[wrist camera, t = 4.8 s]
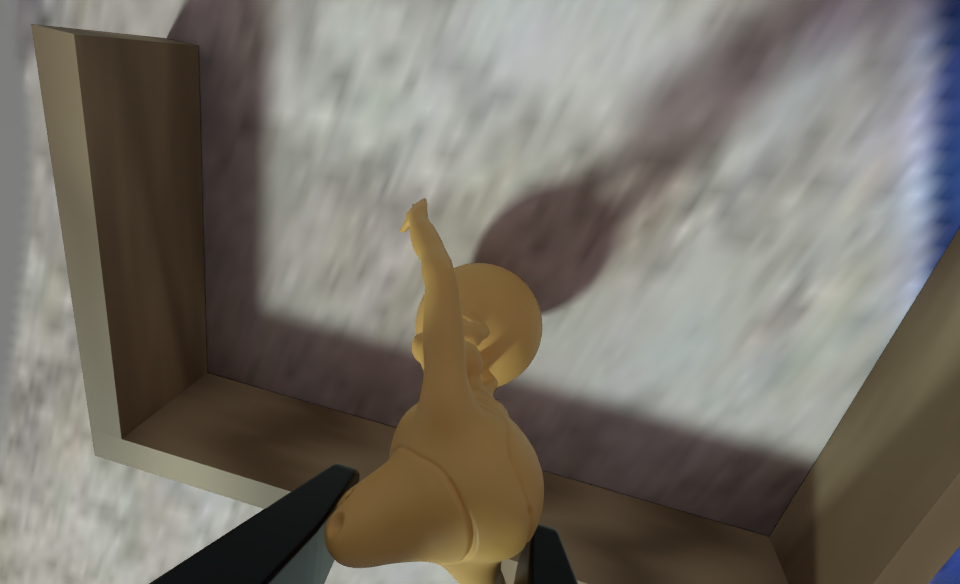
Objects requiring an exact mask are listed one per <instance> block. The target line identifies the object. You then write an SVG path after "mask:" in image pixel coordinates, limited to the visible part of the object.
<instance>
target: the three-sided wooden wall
mask: <svg viewBox="0 0 960 584" xmlns="http://www.w3.org/2000/svg"><path fill="white" fill-rule="evenodd" d="M31 26H32V33H33V40H34V46H35V53H36V60H37V67H38V74H39V80H40V87H41V94H42V101H43V107H44V114H45V121H46V128H47V135H48V141H49V148H50V155H51V162H52V168H53V175H54V182H55V189H56V196H57V202H58V209H59V216H60V223H61V229H62V236H63V243H64V250H65V257H66V263H67V270H68V277H69V284H70V290H71V297H72V304H73V311H74V318H75V324H76V331H77V338H78V345H79V351H80V358H81V365H82V372H83V379H84V385H85V392H86V399H87V406H88V412H89V419H90V426H91V433H92V440H93V446H94V453H95V456H98V457H101V458H104V459H108V460H111V461H114V462H117V463H120V464H124V465H127V466H130V467H133V468H136V469H139V470H143V471H146V472H149V473H152V474H155V475H159V476H162V477H165V478H168V479H171V480H174V481H178V482H181V483H184V484H187V485H190V486H193V487H197V488H200V489H203V490H206V491H209V492H213V493H216V494H219V495H222V496H225V497H228V498H232V499H235V500H238V501H241V502H244V503H248V504H251V505H254V506H257V507H260V508H263V509H265V508H267V507H268V506H270V505H271V504H273V503H275V502H276V501H278V500H279V499H281V498H282V497H284V496H285V495H287V494H288V493H290V492H291V491H293V490H295V489H296V488H298V487H299V486H301V485H302V484H304V483H305V482H307V481H308V480H310V479H312V478H313V477H315V476H316V475H318V474H319V473H321V472H322V471H324V470H325V469H327V468H329V467H330V466H332V465H334V464H342V465H346V466H349V467H352V468H356V469H357V470H358V471H359V474H360V478H359V482H360V481H362V480H363V479H364V478H366V477H367V476H369V475H370V474H371V473H373V472H374V471H375V470H377V469H378V468H379V467H381V466H382V465H383V464H385V463H386V462H387V461H388V460H389V457H390V455H389V453H390V449H391V443H392V439H393V436H394V433H395V430H396V428H394V427H391V426H387V425H384V424H381V423H377V422H374V421H370V420H367V419H363V418H360V417H357V416H353V415H350V414H346V413H343V412H339V411H336V410H333V409H329V408H326V407H322V406H319V405H316V404H312V403H309V402H305V401H302V400H298V399H295V398H292V397H288V396H285V395H281V394H278V393H274V392H271V391H268V390H264V389H261V388H257V387H254V386H250V385H247V384H244V383H240V382H237V381H233V380H230V379H226V378H223V377H220V376H216V375H213V374H209V373H207V350H206V312H205V275H204V238H203V201H202V164H201V126H200V89H199V52H198V46H197V45H192V44H188V43H184V42H179V41H175V40H171V39H166V38H158V37H148V36H139V35H130V34H120V33H111V32H101V31H92V30H82V29H73V28H63V27H54V26H44V25H35V24H31ZM542 473H543V480H544V501H543V509H542V514H541V518H540V521H539V524H542V525H545V526H548V527H552V528H554V529H556V530H557V532H558V533H559V536H560V538H561V541H562V543H563V546H564V549H565V551H566V554H567V556H568V559H569V562H570V564H571V567H572V569H573V572H574V575H575V577H576V580H577V582H578V584H928V583H929V582H930V581H931V580H932V578H933V577H934V576H935V575H936V574H937V572H938V571H939V570H940V569H941V568H942V566H943V565H944V564H945V563H946V562H947V561H948V559H949V558H950V557H951V556H952V555H953V553H954V552H955V551H956V550H957V549H958V548H959V546H960V228H959V230H958V231H957V233H956V235H955V236H954V238H953V239H952V241H951V243H950V244H949V246H948V248H947V249H946V251H945V252H944V254H943V256H942V257H941V259H940V261H939V262H938V264H937V265H936V267H935V269H934V270H933V272H932V273H931V275H930V277H929V278H928V280H927V282H926V283H925V285H924V286H923V288H922V290H921V291H920V293H919V295H918V296H917V298H916V299H915V301H914V303H913V304H912V306H911V308H910V309H909V311H908V312H907V314H906V316H905V317H904V319H903V321H902V322H901V324H900V325H899V327H898V329H897V330H896V332H895V334H894V335H893V337H892V338H891V340H890V342H889V343H888V345H887V347H886V348H885V350H884V351H883V353H882V355H881V356H880V358H879V360H878V361H877V363H876V364H875V366H874V368H873V369H872V371H871V372H870V374H869V376H868V377H867V379H866V381H865V382H864V384H863V385H862V387H861V389H860V390H859V392H858V394H857V395H856V397H855V398H854V400H853V402H852V403H851V405H850V407H849V408H848V410H847V411H846V413H845V415H844V416H843V418H842V420H841V421H840V423H839V424H838V426H837V428H836V429H835V431H834V433H833V434H832V436H831V437H830V439H829V441H828V442H827V444H826V446H825V447H824V449H823V450H822V452H821V454H820V455H819V457H818V459H817V460H816V462H815V463H814V465H813V467H812V468H811V470H810V472H809V473H808V475H807V476H806V478H805V480H804V481H803V483H802V484H801V486H800V488H799V489H798V491H797V493H796V494H795V496H794V497H793V499H792V501H791V502H790V504H789V506H788V507H787V509H786V510H785V512H784V514H783V515H782V517H781V519H780V520H779V522H778V523H777V525H776V527H775V528H774V530H773V532H772V533H771V535H770V536H769V537H768V536H764V535H761V534H757V533H754V532H750V531H747V530H744V529H740V528H737V527H733V526H730V525H726V524H723V523H720V522H716V521H713V520H709V519H706V518H702V517H699V516H696V515H692V514H689V513H685V512H682V511H679V510H675V509H672V508H668V507H665V506H661V505H658V504H655V503H651V502H648V501H644V500H641V499H637V498H634V497H631V496H627V495H624V494H620V493H617V492H613V491H610V490H607V489H603V488H600V487H596V486H593V485H589V484H586V483H583V482H579V481H576V480H572V479H569V478H565V477H562V476H559V475H555V474H552V473H548V472H545V471H542ZM520 554H521V552H519V553H518V554H517V555H515V556H514V557H512V558H509V559H507V560H504V561H502V562H501V571H502V573H503V576H504V579H505V582H506V584H514V580H515V574H516V569H517V564H518V560H519V557H520Z"/></svg>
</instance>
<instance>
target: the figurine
mask: <svg viewBox="0 0 960 584" xmlns="http://www.w3.org/2000/svg"><path fill="white" fill-rule="evenodd" d="M426 201H427V200H426V199H425V198H424V199H422V200H420V201H419V202H417V203H416V204H413V205H412V208H411V209H410V210H409V211H408V213H407V214H406V215H405V222H404V224H403V226H402V228H401V229H400V232H405V231H407V230H408V229H409V228H410V237H411V242H412V245H413V248H414V250H415V252H416V254H417V256H418V257H419V259H420V261H421V270H422V277H423V281H424V285H425V294H424V296H423V298H422V300H421V302H420V305H419V308H418V312H417V317H416V336H415V337H414V339H413V342H412V353H413V355H414V357H415V359H416V360H417V361H418V362H419V363H420V364H421V366H422V368H423V371H424V375H423V382H422V388H421V393H420V398H419V402H418V403H417V404H415V405H414V406H412V407H411V408H410V409H409V410H408V411H407V412H406V413H405V414H404V416H403V417H402V419H401V420H400V422H399V424H398V426H397V428H396V430H395V433H394V436H393V439H392V443H391V449H390V453H389V455H390V457H389V460H388V461H387V462H386V463H385V464H383V465H382V466H381V467H379V468H378V469H377V470H375V471H374V472H373V473H371V474H370V475H369V476H367V477H366V478H364V479H363V480H362V481H360V482H359V483H357V484H356V485H355V486H353V487H352V488H350V489H349V490H348V491H347V492H346V493H345V494H344V495H343V497H342V498H341V499H340V501H339V502H338V504H337V509H336V510H335V511H334V513H333V514H332V515H331V516H330V518H329V519H328V521H327V523H326V526H325V530H324V538H325V543H326V547H327V549H328V551H329V553H330V555H331V556H332V557H333V558H334V559H335V560H336V561H337V562H338V563H340V564H342V565H344V566H347V567H352V568H367V567H375V566H380V565H386V564H393V563H401V562H416V561H423V562H431V563H436V564H438V565H441V566H442V567H444V568H445V569H446V570H447V571H448V572H449V573H450V574H451V575H452V576H453V577H454V578H455V579H456V580H457V581H458V582H459V583H460V584H506V582H505V579H504V576H503V573H502V571H501V562H502V561H504V560H507V559H509V558H512V557H514V556H515V555H517V554H518V553H519V552H521V551H522V550H523V549H524V547H525V545H526V543H527V542H529V541H530V540H531V538H532V536H533V535H534V533H535V531H536V529H537V526H538V524H539V521H540V518H541V514H542V509H543V501H544V480H543V473H542V469H541V466H540V463H539V460H538V457H537V454H536V452H535V450H534V448H533V446H532V445H531V443H530V441H529V440H528V439H527V437H526V436H525V434H524V433H523V432H522V430H521V429H520V428H519V427H518V426H517V425H516V423H515V422H514V421H513V420H511V419H510V418H509V414H508V411H507V410H506V408H505V407H504V406H503V405H502V404H501V403H499V402H498V401H497V400H495V399H494V391H495V390H496V389H497V387H499V386H502V385H504V384H507V383H509V382H510V381H512V380H514V379H515V378H516V377H518V376H519V375H520V374H521V373H522V372H523V371H524V370H525V369H526V368H527V367H528V366H529V365H530V363H531V362H532V360H533V359H534V357H535V355H536V353H537V351H538V348H539V345H540V341H541V336H542V317H541V312H540V308H539V305H538V302H537V300H536V298H535V296H534V294H533V293H532V291H531V290H530V288H529V287H528V286H527V285H526V283H525V282H524V281H523V280H522V279H520V278H519V277H518V276H517V275H515V274H514V273H512V272H511V271H509V270H507V269H505V268H502V267H500V266H497V265H493V264H487V263H471V264H465V265H462V266H458V267H456V268H453V265H452V261H451V259H450V257H449V255H448V253H447V251H446V249H445V248H444V245H443V243H442V240H441V238H440V236H439V235H438V233H437V231H436V229H435V228H434V226H433V225H432V224H431V222H430V221H429V219H428V214H427V202H426Z"/></svg>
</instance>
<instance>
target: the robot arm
mask: <svg viewBox="0 0 960 584" xmlns="http://www.w3.org/2000/svg"><path fill="white" fill-rule="evenodd" d="M359 478H360V474H359V471H358V470H357V469H356V468H352V467H349V466H346V465H342V464H334V465H332V466H330V467H329V468H327V469H325V470H324V471H322V472H321V473H319V474H318V475H316V476H315V477H313V478H312V479H310V480H308V481H307V482H305V483H304V484H302V485H301V486H299V487H298V488H296V489H295V490H293V491H291V492H290V493H288V494H287V495H285V496H284V497H282V498H281V499H279V500H278V501H276V502H275V503H273V504H271V505H270V506H268V507H267V508H265V509H264V510H262V511H261V512H259V513H258V514H256V515H254V516H253V517H251V518H250V519H248V520H247V521H245V522H244V523H242V524H241V525H239V526H237V527H236V528H234V529H233V530H231V531H230V532H228V533H227V534H225V535H224V536H222V537H220V538H219V539H217V540H216V541H214V542H213V543H211V544H210V545H208V546H207V547H205V548H203V549H202V550H200V551H199V552H197V553H196V554H194V555H193V556H191V557H190V558H188V559H187V560H185V561H183V562H182V563H180V564H179V565H177V566H176V567H174V568H173V569H171V570H170V571H168V572H166V573H165V574H163V575H162V576H160V577H159V578H157V579H156V580H154V581H153V582H151V583H149V584H324V583H325V581H326V578H327V576H328V574H329V571H330V569H331V567H332V564H333V562H334V560H335V559H334V558H333V557H332V556H331V555H330V553H329V551H328V549H327V547H326V543H325V538H324V530H325V526H326V523H327V521H328V519H329V518H330V516H331V515H332V514H333V513H334V511H335V510H336V509H337V504H338V502H339V501H340V499H341V498H342V497H343V495H344V494H345V493H346V492H347V491H348V490H349V489H350V488H352V487H353V486H355V485H356V484H357V483H359ZM514 584H578V582H577V580H576V577H575V575H574V572H573V569H572V567H571V564H570V562H569V559H568V556H567V554H566V551H565V549H564V546H563V543H562V541H561V538H560V536H559V533H558V532H557V530H556V529H554V528H552V527H548V526H545V525H542V524H538V526H537V529H536V531H535V533H534V535H533V536H532V538H531V540H530V541H529V542H527V543H526V545H525V547H524V549H523V550H522V551H521V554H520V557H519V560H518V564H517V569H516V574H515V580H514Z"/></svg>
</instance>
